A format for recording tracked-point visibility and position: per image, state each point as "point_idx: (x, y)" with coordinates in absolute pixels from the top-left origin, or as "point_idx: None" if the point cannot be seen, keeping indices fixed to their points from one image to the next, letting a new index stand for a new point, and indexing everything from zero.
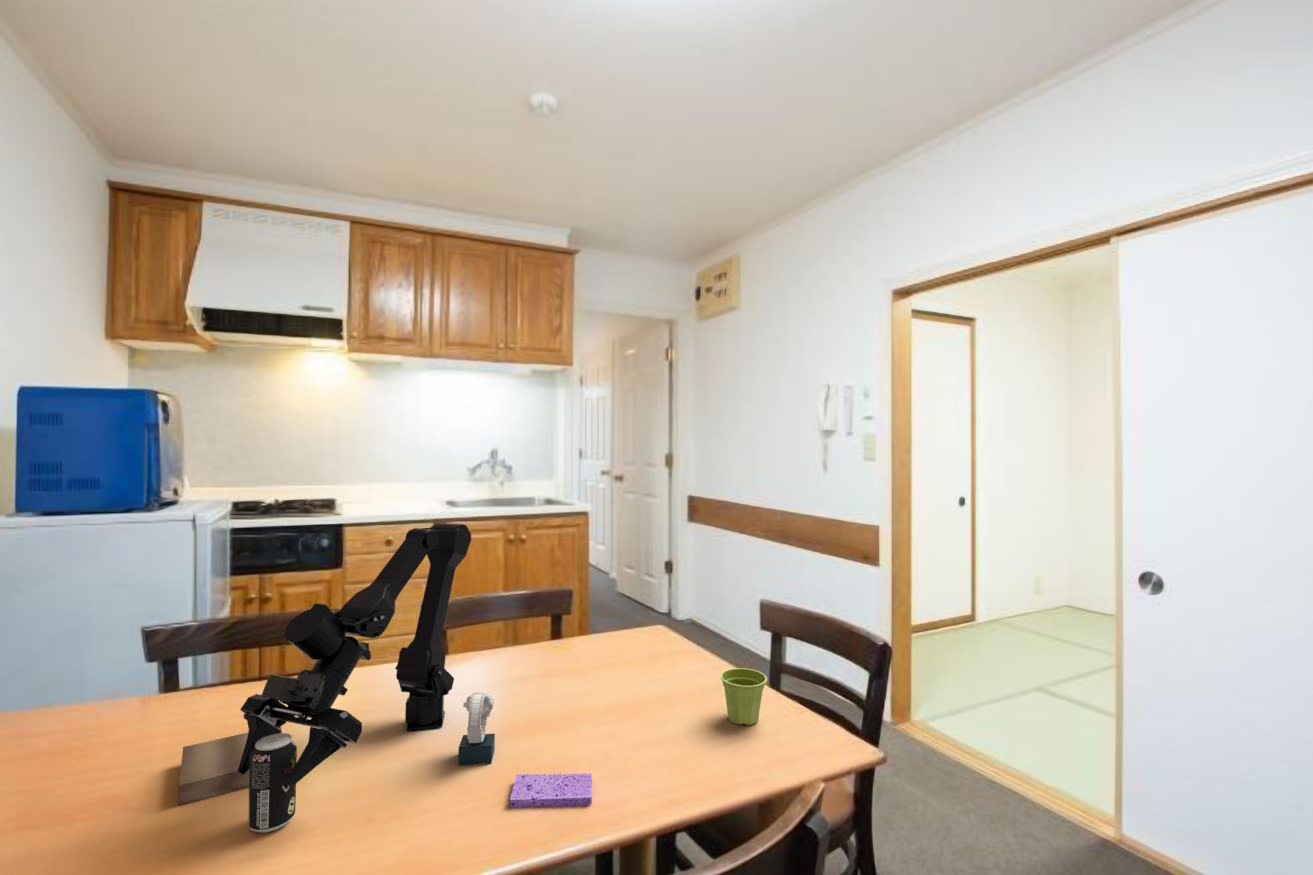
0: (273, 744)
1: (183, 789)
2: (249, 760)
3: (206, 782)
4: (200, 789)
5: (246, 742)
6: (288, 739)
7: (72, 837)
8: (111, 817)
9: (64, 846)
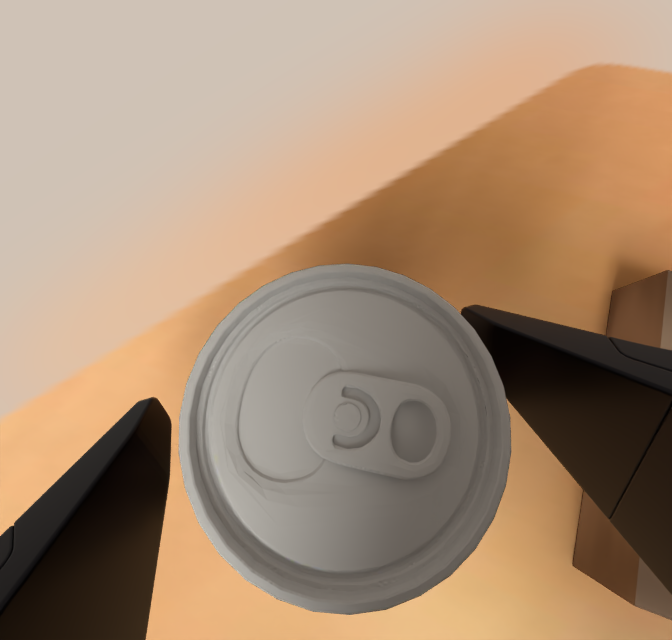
0: (312, 395)
1: (651, 287)
2: (500, 354)
3: (648, 338)
4: (633, 328)
5: (630, 344)
6: (278, 542)
7: (621, 130)
8: (658, 191)
9: (594, 115)
